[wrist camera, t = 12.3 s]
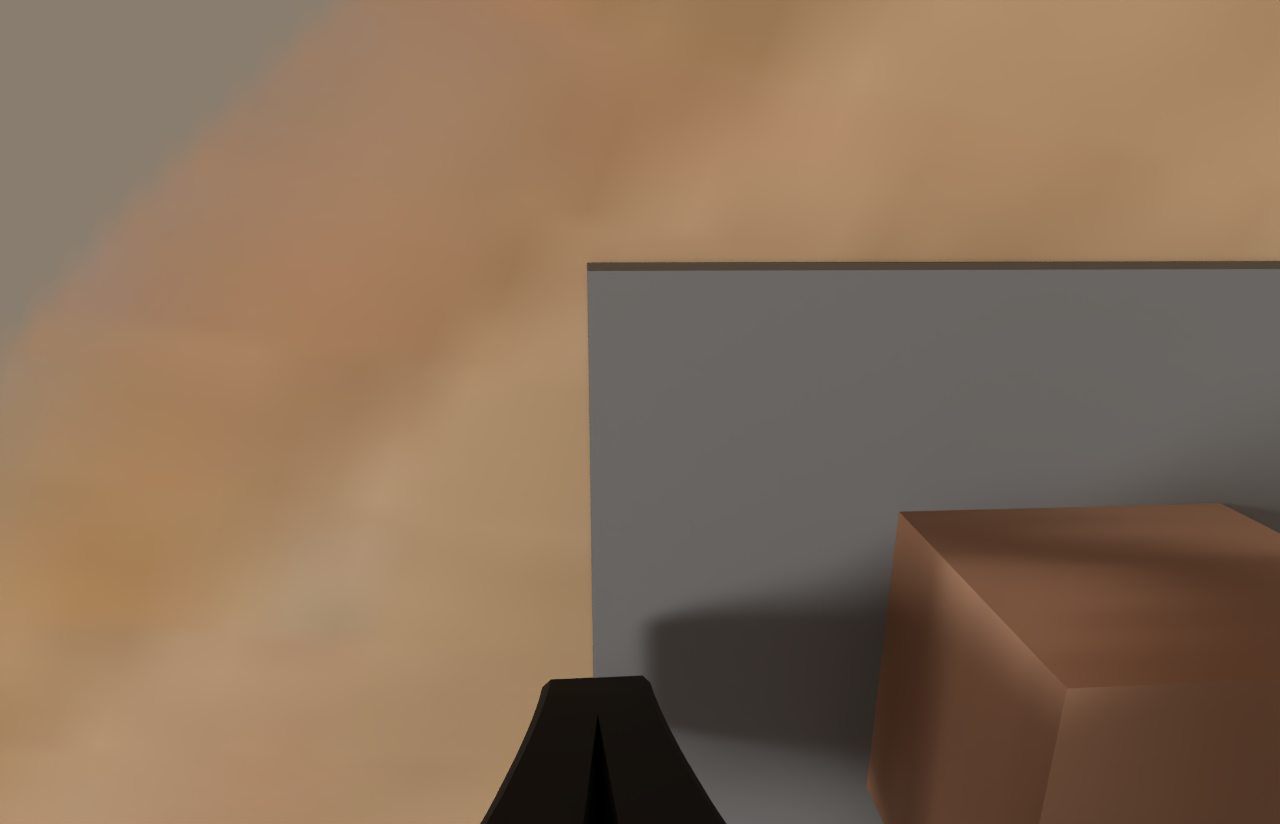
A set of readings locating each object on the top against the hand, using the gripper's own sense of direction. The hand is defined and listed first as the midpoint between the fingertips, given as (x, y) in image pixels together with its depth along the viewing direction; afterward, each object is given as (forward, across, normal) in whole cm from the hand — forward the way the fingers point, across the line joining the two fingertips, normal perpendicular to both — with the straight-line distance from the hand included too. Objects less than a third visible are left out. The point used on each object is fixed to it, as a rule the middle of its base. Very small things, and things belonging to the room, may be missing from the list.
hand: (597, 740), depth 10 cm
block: (+2, -7, 0) cm, 7 cm away
